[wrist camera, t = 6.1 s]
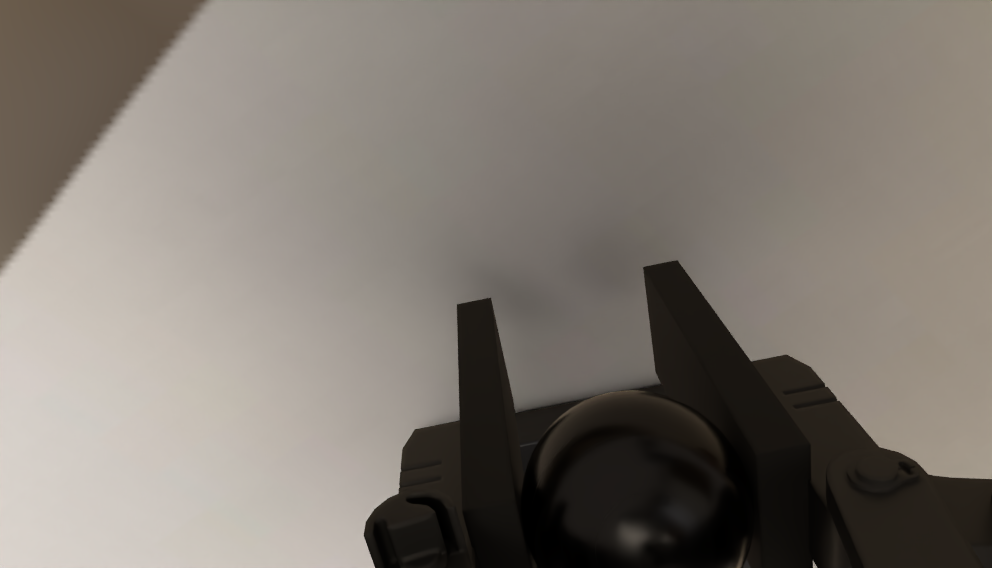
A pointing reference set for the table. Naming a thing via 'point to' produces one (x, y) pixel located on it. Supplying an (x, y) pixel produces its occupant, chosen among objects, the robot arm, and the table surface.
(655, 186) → the table surface
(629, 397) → the lever
